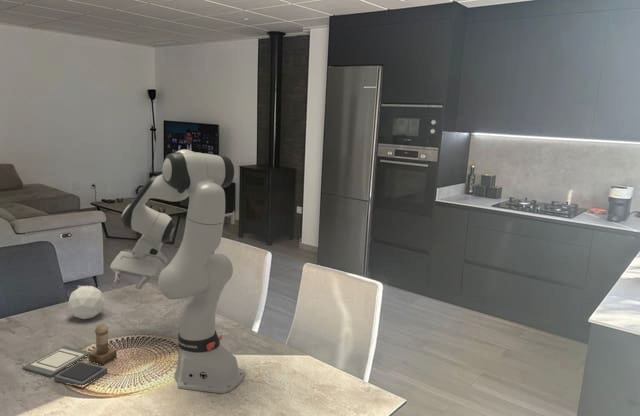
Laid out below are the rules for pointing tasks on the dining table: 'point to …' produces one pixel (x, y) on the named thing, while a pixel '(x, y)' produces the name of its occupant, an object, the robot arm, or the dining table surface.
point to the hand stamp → (102, 347)
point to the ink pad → (80, 373)
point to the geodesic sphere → (86, 302)
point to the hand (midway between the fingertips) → (126, 286)
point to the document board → (56, 361)
